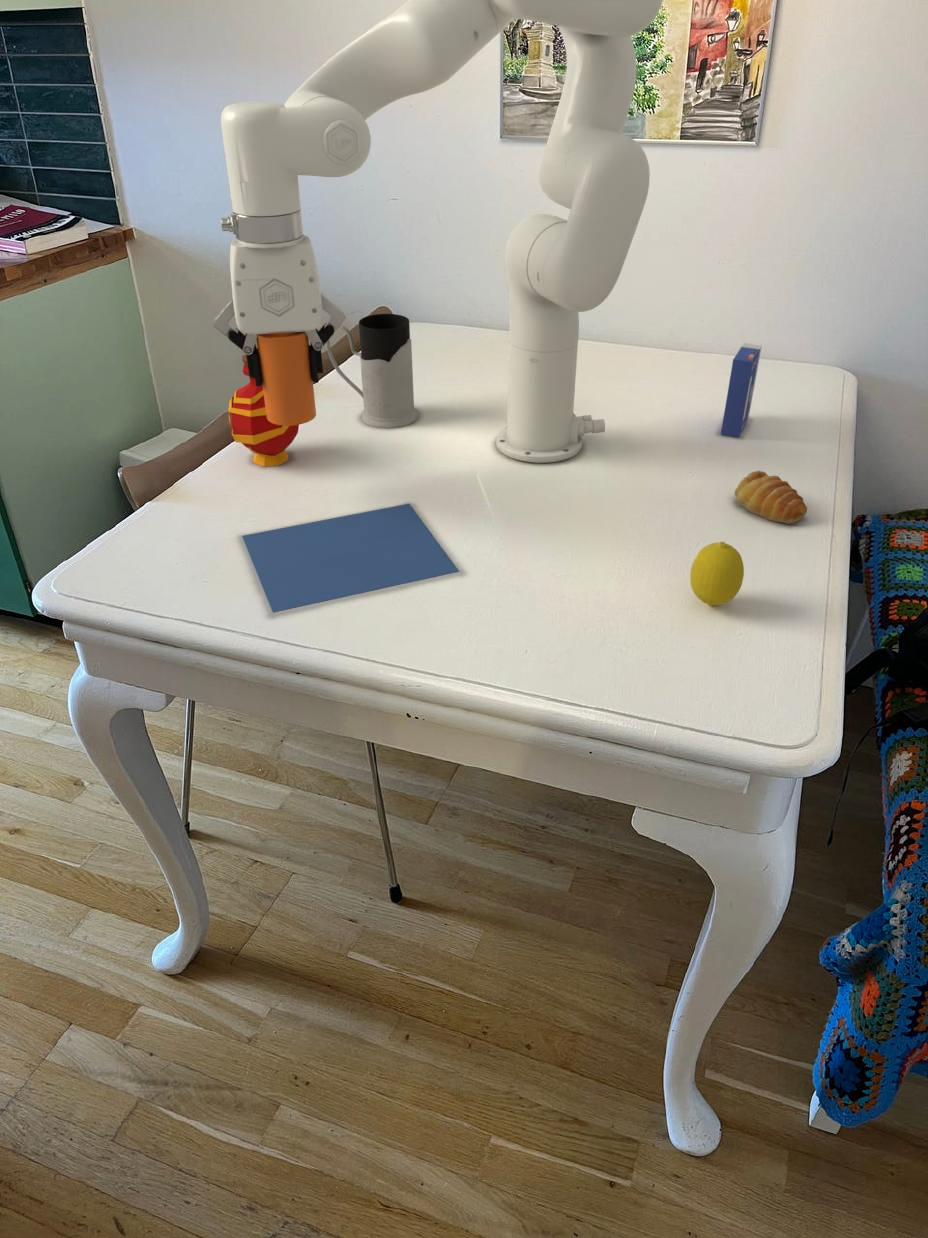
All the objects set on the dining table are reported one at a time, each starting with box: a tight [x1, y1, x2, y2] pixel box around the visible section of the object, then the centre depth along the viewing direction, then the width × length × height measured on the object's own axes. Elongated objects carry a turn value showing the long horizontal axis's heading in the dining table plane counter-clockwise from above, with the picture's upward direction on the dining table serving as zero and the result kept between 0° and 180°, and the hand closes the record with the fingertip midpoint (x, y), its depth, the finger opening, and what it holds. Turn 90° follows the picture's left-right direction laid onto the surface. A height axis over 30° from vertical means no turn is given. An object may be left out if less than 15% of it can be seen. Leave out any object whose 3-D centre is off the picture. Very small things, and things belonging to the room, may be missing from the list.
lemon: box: [689, 541, 745, 607], centre depth 100 cm, size 6×6×8 cm
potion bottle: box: [227, 353, 300, 467], centre depth 129 cm, size 10×10×15 cm
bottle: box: [256, 331, 317, 426], centre depth 113 cm, size 6×6×17 cm
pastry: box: [734, 470, 808, 525], centre depth 119 cm, size 9×7×4 cm
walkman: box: [720, 342, 762, 439], centre depth 138 cm, size 8×3×12 cm, turn 155°
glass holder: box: [325, 313, 418, 429], centre depth 142 cm, size 9×14×15 cm, turn 71°
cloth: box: [241, 503, 460, 613], centre depth 111 cm, size 22×18×1 cm
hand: (287, 379), depth 115 cm, fingers closed on bottle, 6 cm apart
